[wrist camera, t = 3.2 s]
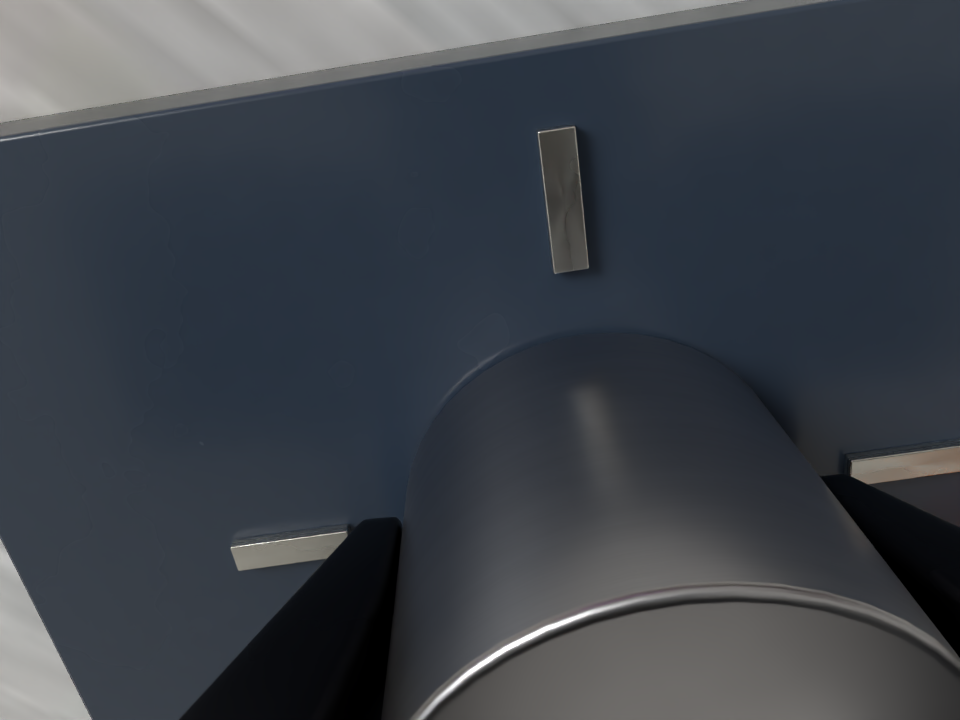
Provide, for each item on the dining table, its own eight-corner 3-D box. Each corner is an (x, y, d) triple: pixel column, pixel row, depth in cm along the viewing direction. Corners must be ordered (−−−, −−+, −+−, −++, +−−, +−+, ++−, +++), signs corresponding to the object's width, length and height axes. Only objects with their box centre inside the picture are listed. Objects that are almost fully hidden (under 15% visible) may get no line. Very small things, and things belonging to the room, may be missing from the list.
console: (1088, -56, 9) (1364, -86, 7) (988, 581, 14) (1129, 735, 11) (-13, 124, 10) (-203, 170, 7) (213, 683, 14) (149, 856, 11)
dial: (377, 354, 8) (298, 672, 4) (795, 307, 8) (1116, 589, 4) (433, 662, 10) (417, 1086, 6) (775, 627, 10) (984, 1036, 6)
